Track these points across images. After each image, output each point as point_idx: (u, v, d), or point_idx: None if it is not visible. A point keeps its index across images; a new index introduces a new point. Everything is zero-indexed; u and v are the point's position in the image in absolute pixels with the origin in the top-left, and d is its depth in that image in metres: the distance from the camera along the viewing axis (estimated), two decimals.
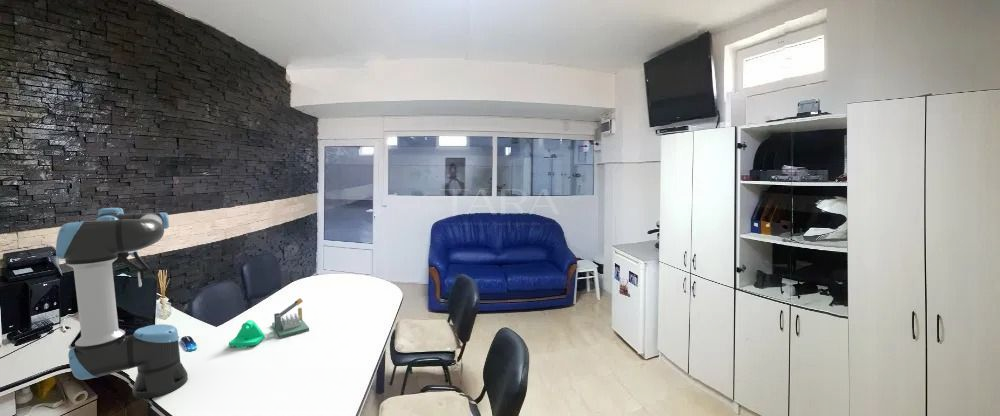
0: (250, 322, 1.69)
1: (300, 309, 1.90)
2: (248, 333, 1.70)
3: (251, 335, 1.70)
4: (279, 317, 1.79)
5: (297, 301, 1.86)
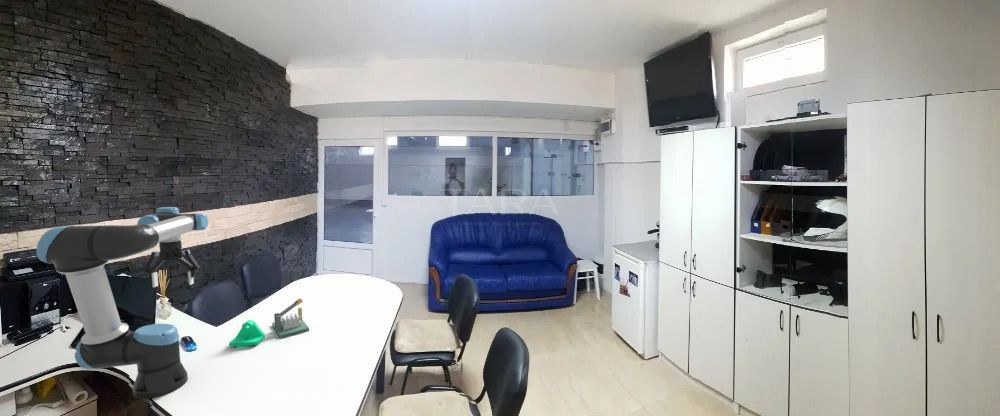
0: (250, 322, 1.69)
1: (300, 309, 1.90)
2: (249, 333, 1.70)
3: (251, 335, 1.70)
4: (279, 317, 1.79)
5: (297, 301, 1.86)
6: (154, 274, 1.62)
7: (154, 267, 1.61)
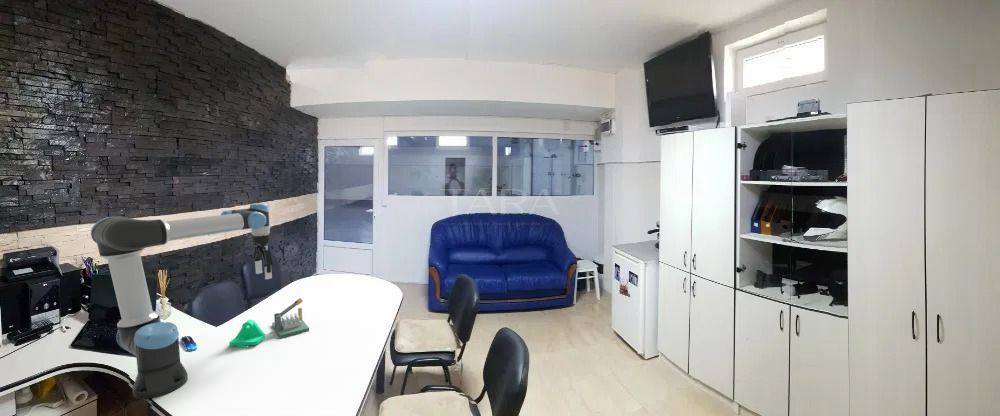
0: (250, 322, 1.69)
1: (300, 309, 1.90)
2: (249, 332, 1.70)
3: (252, 335, 1.71)
4: (279, 317, 1.79)
5: (297, 301, 1.86)
6: (256, 262, 1.81)
7: (255, 256, 1.80)
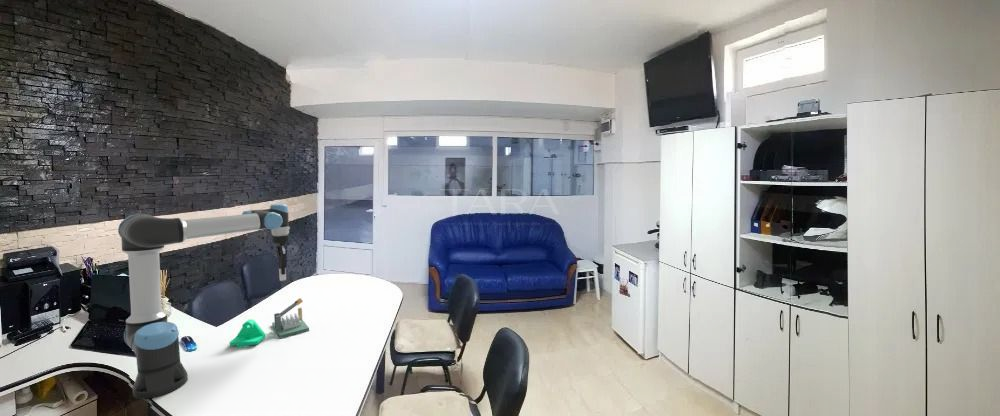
0: (251, 321, 1.70)
1: (300, 309, 1.90)
2: (249, 332, 1.71)
3: (252, 334, 1.71)
4: (279, 317, 1.79)
5: (297, 301, 1.86)
6: None
7: (278, 261, 1.80)
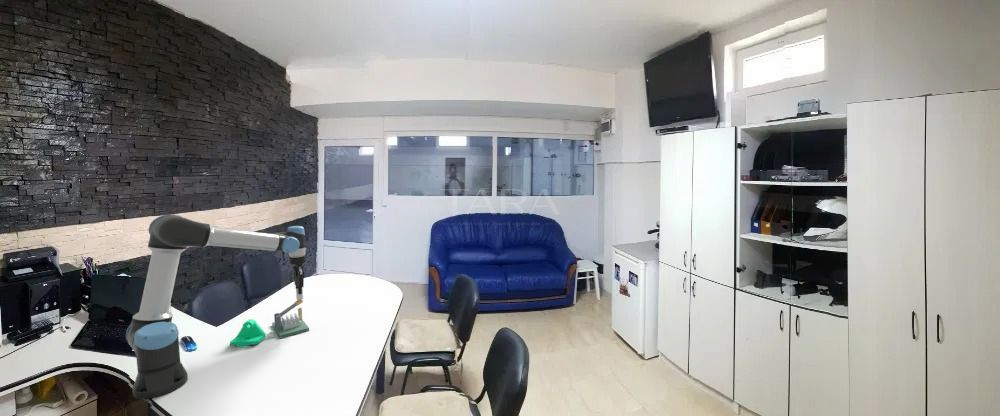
0: (251, 321, 1.70)
1: (300, 309, 1.90)
2: (249, 332, 1.71)
3: (252, 334, 1.71)
4: (279, 317, 1.79)
5: (297, 301, 1.86)
6: None
7: (295, 281, 1.86)
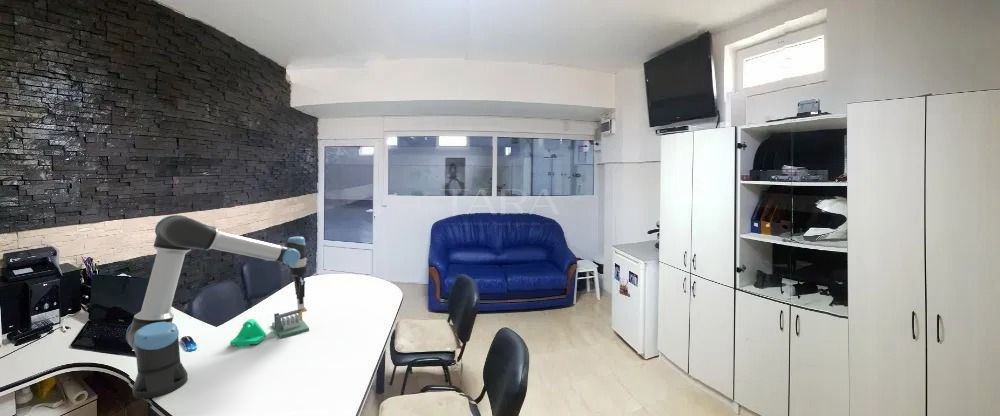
0: (251, 321, 1.70)
1: None
2: (250, 332, 1.71)
3: (252, 334, 1.71)
4: (279, 317, 1.79)
5: None
6: None
7: (296, 291, 1.87)
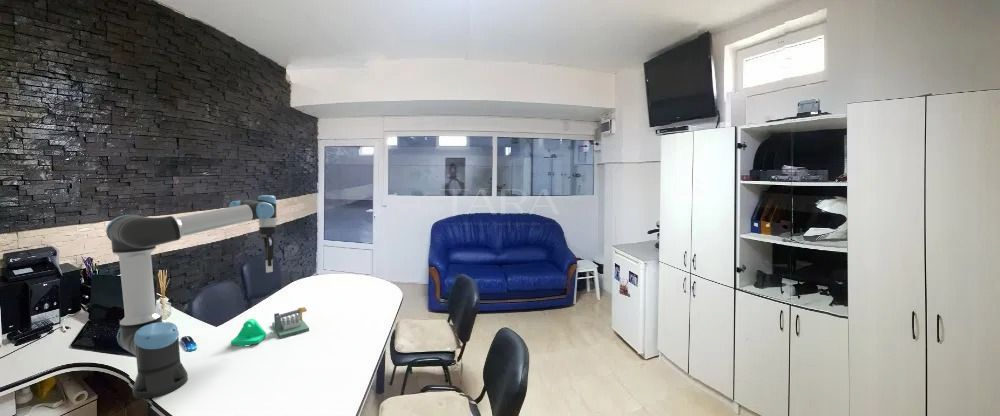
0: (252, 321, 1.70)
1: None
2: (250, 331, 1.71)
3: (253, 333, 1.72)
4: (279, 317, 1.79)
5: (301, 309, 1.88)
6: None
7: (265, 252, 1.79)
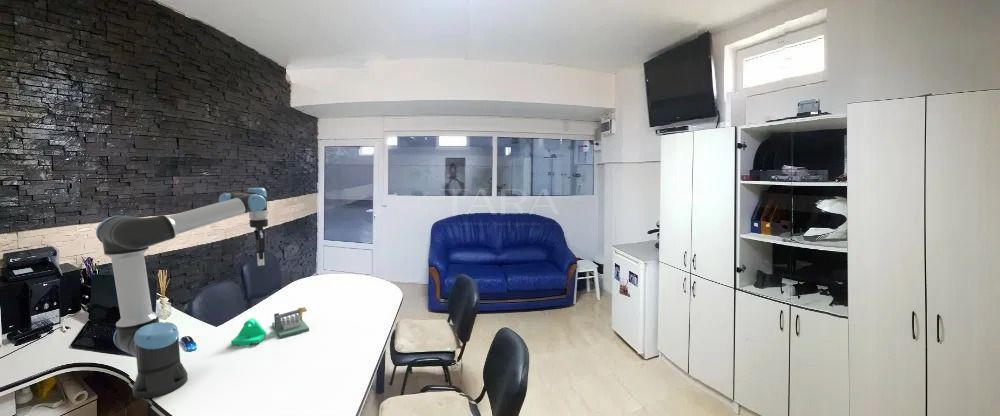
0: (252, 320, 1.71)
1: None
2: (250, 331, 1.72)
3: (253, 333, 1.72)
4: (279, 317, 1.79)
5: (301, 309, 1.88)
6: None
7: (256, 245, 1.78)
